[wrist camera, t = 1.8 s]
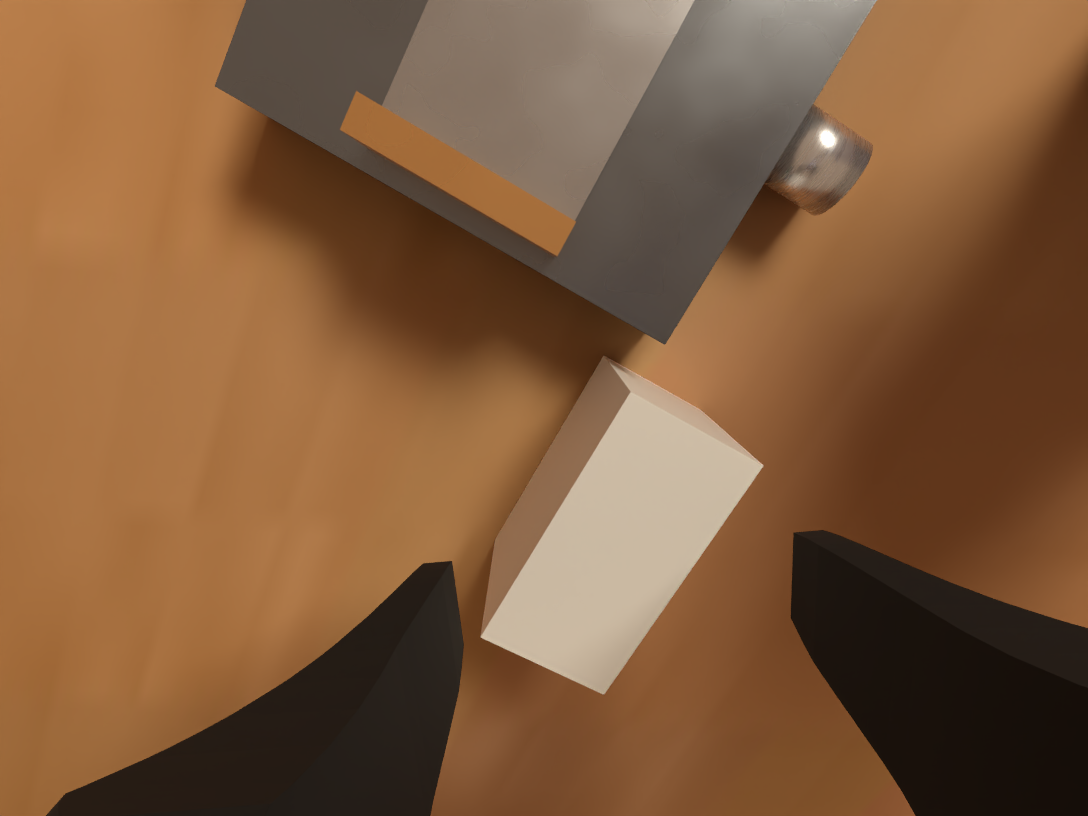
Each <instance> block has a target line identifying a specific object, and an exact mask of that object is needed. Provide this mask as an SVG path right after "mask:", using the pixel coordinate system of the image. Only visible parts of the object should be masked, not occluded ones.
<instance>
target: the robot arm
mask: <svg viewBox="0 0 1088 816" xmlns="http://www.w3.org/2000/svg"><path fill="white" fill-rule="evenodd" d="M791 619H792V621H793V623H794V625H795V627H796V629H797V631H798V633H799V635H800V637H801V639H802V641H803V643H804V645H805V647H806V649H807V651H808V653H809V655H810V656H811V658H812V660H813V662H814V663H815V665H816V666H817V668H818V669H819V671H820V672H821V674H822V675H823V677H824V678H825V680H826V681H827V683H828V684H829V686H830V687H831V688H832V690H833V691H834V693H835V694H836V696H837V697H838V699H839V700H840V701H841V703H842V704H843V706H844V707H845V709H846V710H847V711H848V713H849V714H850V716H851V717H852V719H853V720H854V721H855V723H856V724H857V726H858V727H859V729H860V730H861V731H862V733H863V734H864V736H865V737H866V739H867V740H868V741H869V743H870V744H871V746H872V747H873V749H874V750H875V751H876V753H877V754H878V756H879V757H880V759H881V760H882V761H883V763H884V764H885V766H886V767H887V769H888V771H889V772H890V774H891V775H892V777H893V778H894V780H895V781H896V783H897V785H898V786H899V788H900V789H901V791H902V793H903V794H904V796H905V798H906V800H907V801H908V803H909V805H910V807H911V808H912V810H913V812H914V814H915V815H916V816H1088V628H1085V627H1081V626H1078V625H1074V624H1071V623H1067V622H1064V621H1060V620H1057V619H1054V618H1051V617H1047V616H1044V615H1041V614H1038V613H1035V612H1032V611H1029V610H1026V609H1022V608H1019V607H1016V606H1013V605H1010V604H1007V603H1004V602H1001V601H998V600H996V599H993V598H990V597H987V596H984V595H982V594H979V593H977V592H974V591H971V590H969V589H966V588H964V587H961V586H958V585H956V584H953V583H950V582H948V581H945V580H943V579H941V578H938V577H936V576H933V575H931V574H928V573H926V572H923V571H921V570H919V569H916V568H914V567H912V566H909V565H907V564H905V563H902V562H900V561H898V560H895V559H893V558H891V557H889V556H886V555H884V554H882V553H879V552H877V551H875V550H872V549H870V548H868V547H866V546H863V545H861V544H858V543H856V542H854V541H851V540H849V539H846V538H844V537H841V536H839V535H836V534H833V533H830V532H827V531H824V530H820V531H808V532H796V533H794V538H793V568H792V598H791ZM463 647H464V643H463V636H462V629H461V622H460V615H459V608H458V601H457V594H456V587H455V579H454V572H453V565H452V561H447V562H435V563H423V564H422V565H421V566H420V567H419V568H418V569H417V570H415V571H414V572H413V573H412V574H411V575H410V576H409V577H408V578H407V579H406V580H405V581H404V582H403V583H402V584H401V585H400V586H399V587H398V588H397V589H396V590H395V591H394V592H393V593H392V594H391V595H390V596H389V597H388V598H387V599H386V600H385V601H384V602H383V603H381V604H380V605H379V606H378V607H377V608H376V609H375V610H374V611H373V612H372V613H371V614H370V615H369V616H368V617H367V618H365V619H364V620H363V621H362V622H361V623H360V624H358V625H357V626H356V627H355V628H354V629H353V630H351V631H350V632H349V633H348V634H347V635H346V636H344V637H343V638H342V639H341V640H340V641H339V642H338V643H336V644H335V645H334V646H333V647H331V648H330V649H329V650H328V651H326V652H325V653H324V654H323V655H321V656H320V657H319V658H317V659H316V660H315V661H313V662H312V663H311V664H309V665H308V666H306V667H305V668H304V669H302V670H301V671H299V672H298V673H297V674H295V675H294V676H292V677H291V678H290V679H288V680H287V681H285V682H284V683H282V684H281V685H279V686H277V687H276V688H274V689H273V690H271V691H269V692H268V693H266V694H264V695H263V696H261V697H260V698H258V699H256V700H255V701H253V702H252V703H250V704H248V705H247V706H245V707H243V708H242V709H240V710H239V711H237V712H235V713H234V714H232V715H230V716H228V717H227V718H225V719H223V720H221V721H219V722H218V723H216V724H214V725H212V726H210V727H208V728H207V729H205V730H203V731H201V732H199V733H197V734H195V735H193V736H191V737H189V738H187V739H185V740H183V741H181V742H180V743H178V744H176V745H174V746H172V747H170V748H168V749H166V750H164V751H161V752H159V753H157V754H155V755H153V756H151V757H149V758H147V759H144V760H142V761H140V762H138V763H135V764H133V765H131V766H129V767H126V768H124V769H122V770H120V771H117V772H115V773H113V774H110V775H108V776H106V777H104V778H101V779H99V780H97V781H95V782H92V783H90V784H88V785H85V786H83V787H81V788H78V789H76V790H73V791H71V792H68V793H66V794H65V795H64V796H63V797H62V798H61V799H60V800H59V802H58V803H57V804H56V805H55V806H54V807H53V808H52V809H51V811H50V812H49V813H48V814H47V815H46V816H430V815H431V810H432V804H433V799H434V795H435V791H436V787H437V782H438V778H439V774H440V770H441V766H442V761H443V757H444V753H445V749H446V744H447V740H448V736H449V732H450V727H451V723H452V719H453V714H454V710H455V706H456V701H457V697H458V692H459V685H460V677H461V668H462V658H463Z"/></svg>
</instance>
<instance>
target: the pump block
mask: <svg viewBox="0 0 1088 816" xmlns="http://www.w3.org/2000/svg"><path fill="white" fill-rule="evenodd" d="M763 466H764V465H762V464H761V463H760V462H759V461H758V460H757V459H756V458H754V457H753V456H752V455H751V454H750V453H749V452H748V451H747V450H745V449H744V448H743V447H742V446H741V445H740V444H739V443H738V442H736V441H735V440H734V439H733V438H732V437H731V436H730V435H729V434H727V433H726V432H725V431H724V430H723V429H722V428H721V427H720V426H718V425H717V424H716V423H715V422H714V421H713V420H712V419H711V418H709V417H708V416H707V415H706V414H705V413H704V412H703V411H702V410H700V409H699V408H697V407H695V406H693V405H691V404H690V403H688V402H686V401H684V400H683V399H681V398H679V397H677V396H675V395H674V394H672V393H670V392H668V391H666V390H665V389H663V388H661V387H659V386H658V385H656V384H654V383H652V382H650V381H649V380H647V379H645V378H643V377H642V376H640V375H638V374H636V373H634V372H633V371H631V370H629V369H627V368H626V367H624V366H622V365H620V364H618V363H617V362H615V361H613V360H611V359H610V358H608V357H606V356H603V357H602V359H601V361H600V363H599V364H598V366H597V368H596V369H595V371H594V373H593V374H592V376H591V378H590V379H589V381H588V383H587V385H586V386H585V388H584V390H583V391H582V393H581V395H580V396H579V398H578V400H577V402H576V403H575V405H574V407H573V408H572V410H571V412H570V413H569V415H568V417H567V418H566V420H565V422H564V424H563V425H562V427H561V429H560V430H559V432H558V434H557V435H556V437H555V439H554V440H553V442H552V444H551V446H550V447H549V449H548V451H547V452H546V454H545V456H544V457H543V459H542V461H541V462H540V464H539V466H538V468H537V469H536V471H535V473H534V474H533V476H532V478H531V479H530V481H529V483H528V485H527V486H526V488H525V490H524V491H523V493H522V495H521V496H520V498H519V500H518V501H517V503H516V505H515V507H514V508H513V510H512V512H511V513H510V515H509V517H508V518H507V520H506V522H505V523H504V525H503V527H502V529H501V530H500V532H499V534H498V535H497V537H496V539H495V543H494V550H493V556H492V563H491V570H490V576H489V583H488V590H487V596H486V603H485V610H484V616H483V623H482V629H481V636H480V637H481V638H483V639H485V640H487V641H489V642H491V643H493V644H496V645H498V646H500V647H502V648H504V649H506V650H509V651H511V652H513V653H515V654H517V655H519V656H521V657H524V658H526V659H528V660H530V661H532V662H534V663H536V664H539V665H541V666H543V667H545V668H547V669H549V670H552V671H554V672H556V673H558V674H560V675H562V676H564V677H567V678H569V679H571V680H573V681H575V682H577V683H579V684H582V685H584V686H586V687H588V688H590V689H592V690H595V691H597V692H599V693H601V694H603V695H604V694H605V693H606V691H607V690H608V688H609V687H610V685H611V684H612V683H613V681H614V680H615V678H616V677H617V675H618V674H619V673H620V671H621V670H622V668H623V667H624V665H625V664H626V663H627V661H628V660H629V658H630V657H631V655H632V654H633V652H634V651H635V650H636V648H637V647H638V645H639V644H640V642H641V641H642V640H643V638H644V637H645V635H646V634H647V632H648V631H649V630H650V628H651V627H652V625H653V624H654V622H655V621H656V619H657V618H658V617H659V615H660V614H661V612H662V611H663V609H664V608H665V607H666V605H667V604H668V602H669V601H670V599H671V598H672V596H673V595H674V594H675V592H676V591H677V589H678V588H679V586H680V585H681V584H682V582H683V581H684V579H685V578H686V576H687V575H688V574H689V572H690V571H691V569H692V568H693V566H694V565H695V563H696V562H697V561H698V559H699V558H700V556H701V555H702V553H703V552H704V551H705V549H706V548H707V546H708V545H709V543H710V542H711V541H712V539H713V538H714V536H715V535H716V533H717V532H718V530H719V529H720V528H721V526H722V525H723V523H724V522H725V520H726V519H727V518H728V516H729V515H730V513H731V512H732V510H733V509H734V508H735V506H736V505H737V503H738V502H739V500H740V499H741V497H742V496H743V495H744V493H745V492H746V490H747V489H748V487H749V486H750V485H751V483H752V482H753V480H754V479H755V477H756V476H757V474H758V473H759V472H760V470H761V469H762V467H763Z"/></svg>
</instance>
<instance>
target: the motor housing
mask: <svg viewBox="0 0 1088 816" xmlns="http://www.w3.org/2000/svg"><path fill="white" fill-rule="evenodd" d="M876 1H877V0H246V3H245V6H244V8H243V11H242V14H241V16H240V19H239V22H238V25H237V27H236V30H235V33H234V35H233V38H232V41H231V44H230V46H229V49H228V52H227V54H226V57H225V60H224V63H223V65H222V68H221V71H220V73H219V76H218V79H217V82H216V84H215V87H217V88H219V89H221V90H222V91H224V92H226V93H228V94H229V95H231V96H233V97H235V98H236V99H238V100H240V101H241V102H243V103H245V104H247V105H248V106H250V107H252V108H254V109H255V110H257V111H259V112H261V113H262V114H264V115H266V116H268V117H269V118H271V119H273V120H275V121H276V122H278V123H280V124H282V125H283V126H285V127H287V128H288V129H290V130H292V131H294V132H295V133H297V134H299V135H301V136H302V137H304V138H306V139H308V140H309V141H311V142H313V143H315V144H316V145H318V146H320V147H322V148H323V149H325V150H327V151H329V152H330V153H332V154H334V155H336V156H337V157H339V158H341V159H342V160H344V161H346V162H348V163H349V164H351V165H353V166H355V167H356V168H358V169H360V170H362V171H363V172H365V173H367V174H369V175H370V176H372V177H374V178H376V179H377V180H379V181H381V182H383V183H384V184H386V185H388V186H389V187H391V188H393V189H395V190H396V191H398V192H400V193H402V194H403V195H405V196H407V197H409V198H410V199H412V200H414V201H416V202H417V203H419V204H421V205H423V206H424V207H426V208H428V209H430V210H431V211H433V212H435V213H436V214H438V215H440V216H442V217H443V218H445V219H447V220H449V221H450V222H452V223H454V224H456V225H457V226H459V227H461V228H463V229H464V230H466V231H468V232H470V233H471V234H473V235H475V236H477V237H478V238H480V239H482V240H483V241H485V242H487V243H489V244H490V245H492V246H494V247H496V248H497V249H499V250H501V251H503V252H504V253H506V254H508V255H510V256H511V257H513V258H515V259H517V260H518V261H520V262H522V263H524V264H525V265H527V266H529V267H530V268H532V269H534V270H536V271H537V272H539V273H541V274H543V275H544V276H546V277H548V278H550V279H551V280H553V281H555V282H557V283H558V284H560V285H562V286H564V287H565V288H567V289H569V290H571V291H572V292H574V293H576V294H577V295H579V296H581V297H583V298H584V299H586V300H588V301H590V302H591V303H593V304H595V305H597V306H598V307H600V308H602V309H604V310H605V311H607V312H609V313H611V314H612V315H614V316H616V317H618V318H619V319H621V320H623V321H625V322H626V323H628V324H630V325H631V326H633V327H635V328H637V329H638V330H640V331H642V332H644V333H645V334H647V335H649V336H651V337H652V338H654V339H656V340H658V341H659V342H661V343H663V344H666V342H667V341H668V339H669V337H670V336H671V334H672V333H673V331H674V329H675V328H676V326H677V324H678V323H679V321H680V320H681V318H682V316H683V315H684V313H685V311H686V310H687V308H688V306H689V305H690V303H691V302H692V300H693V298H694V297H695V295H696V293H697V292H698V290H699V289H700V287H701V285H702V284H703V282H704V280H705V279H706V277H707V276H708V274H709V272H710V271H711V269H712V267H713V266H714V264H715V263H716V261H717V259H718V258H719V256H720V254H721V253H722V251H723V250H724V248H725V246H726V245H727V243H728V241H729V240H730V238H731V237H732V235H733V233H734V232H735V230H736V228H737V227H738V225H739V224H740V222H741V220H742V219H743V217H744V215H745V214H746V212H747V211H748V209H749V207H750V206H751V204H752V202H753V201H754V199H755V197H756V196H757V194H758V193H759V191H760V189H761V188H762V186H763V184H765V185H766V186H768V187H770V188H771V189H773V190H774V191H776V192H777V193H779V194H780V195H782V196H784V197H785V198H787V199H788V200H790V201H791V202H793V203H795V204H796V205H798V206H799V207H801V208H802V209H804V210H806V211H807V212H809V213H810V214H812V215H814V216H815V215H820V214H822V213H824V212H826V211H827V210H829V209H830V208H831V207H833V206H834V205H835V204H836V203H837V202H838V201H839V200H840V199H841V198H842V197H843V196H844V195H845V194H846V193H847V192H848V191H849V190H850V189H851V188H852V186H853V185H854V184H855V182H856V181H857V180H858V178H859V177H860V176H861V174H862V173H863V171H864V169H865V168H866V166H867V164H868V162H869V160H870V157H871V155H872V150H873V145H872V144H871V143H870V142H869V141H867V140H866V139H864V138H863V137H861V136H860V135H858V134H857V133H855V132H854V131H853V130H851V129H850V128H848V127H847V126H845V125H844V124H842V123H841V122H839V121H838V120H836V119H835V118H833V117H832V116H830V115H829V114H827V113H826V112H824V111H823V110H821V109H820V108H818V107H817V106H815V105H814V104H813V103H814V102H815V100H816V98H817V97H818V95H819V93H820V92H821V90H822V89H823V87H824V85H825V84H826V82H827V80H828V79H829V77H830V75H831V74H832V72H833V71H834V69H835V67H836V66H837V64H838V62H839V61H840V59H841V58H842V56H843V54H844V53H845V51H846V49H847V48H848V46H849V45H850V43H851V41H852V40H853V38H854V36H855V35H856V33H857V32H858V30H859V28H860V27H861V25H862V23H863V22H864V20H865V19H866V17H867V15H868V14H869V12H870V10H871V9H872V7H873V6H874V4H875V2H876Z"/></svg>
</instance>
